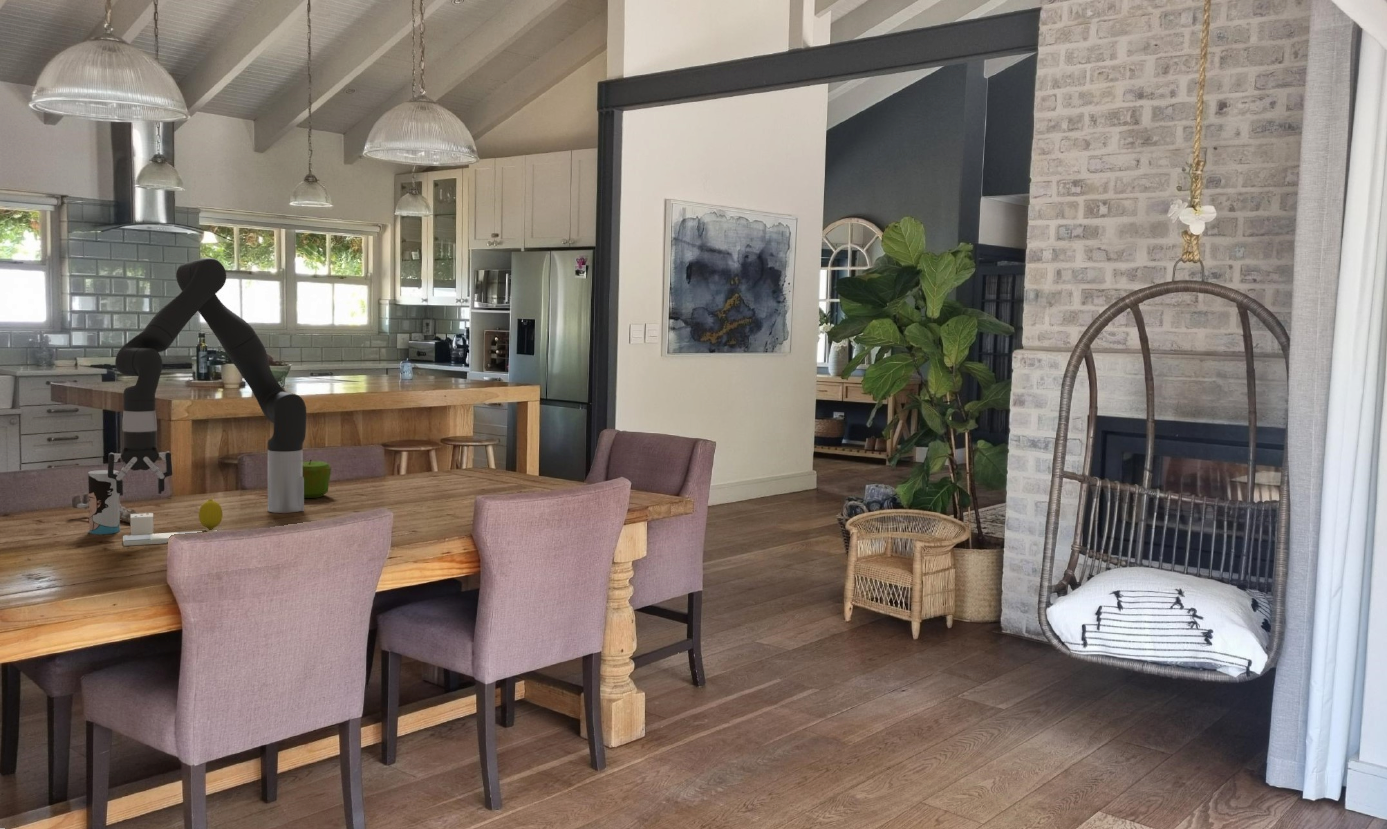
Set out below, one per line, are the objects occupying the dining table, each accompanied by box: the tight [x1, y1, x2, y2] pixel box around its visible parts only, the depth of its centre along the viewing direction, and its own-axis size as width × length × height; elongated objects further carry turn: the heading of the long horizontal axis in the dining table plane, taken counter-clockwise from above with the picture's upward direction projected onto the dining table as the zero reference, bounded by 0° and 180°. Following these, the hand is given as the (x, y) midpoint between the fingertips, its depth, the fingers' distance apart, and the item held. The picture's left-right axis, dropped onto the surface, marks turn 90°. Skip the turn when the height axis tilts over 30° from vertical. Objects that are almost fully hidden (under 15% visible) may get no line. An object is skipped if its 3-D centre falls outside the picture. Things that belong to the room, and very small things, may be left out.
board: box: [122, 529, 218, 547], centre depth 275 cm, size 24×7×1 cm, turn 117°
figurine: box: [71, 492, 141, 524], centre depth 297 cm, size 6×6×20 cm
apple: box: [303, 459, 332, 499], centre depth 341 cm, size 12×12×11 cm
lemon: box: [198, 498, 224, 531], centre depth 288 cm, size 6×6×8 cm
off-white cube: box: [129, 512, 154, 535], centre depth 280 cm, size 5×5×5 cm
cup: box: [87, 469, 121, 535], centre depth 282 cm, size 7×7×15 cm
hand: (140, 494), depth 279 cm, fingers open, 8 cm apart
